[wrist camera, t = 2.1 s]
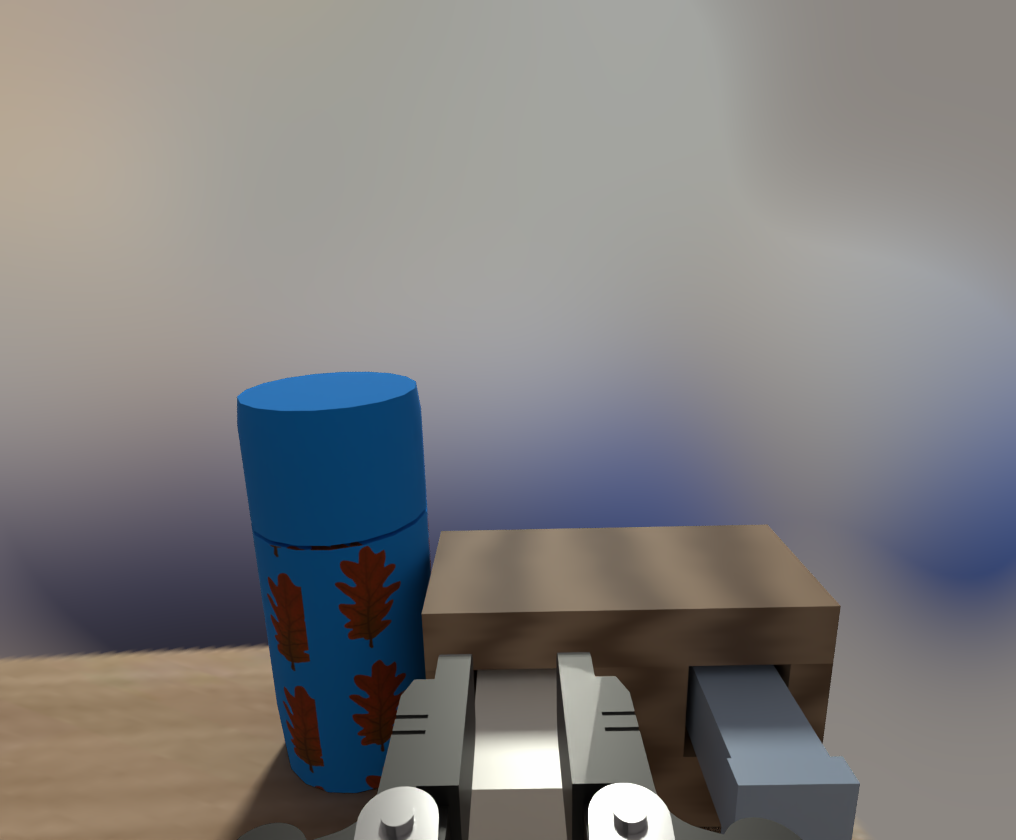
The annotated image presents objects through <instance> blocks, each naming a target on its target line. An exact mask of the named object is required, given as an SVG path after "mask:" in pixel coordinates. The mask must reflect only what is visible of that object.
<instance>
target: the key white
mask: <svg viewBox="0 0 1016 840" xmlns="http://www.w3.org/2000/svg"><path fill="white" fill-rule="evenodd" d="M475 717H476V733H475V753H474V767H473V781H472V795H471V809H470V823H469V837H468V840H567V833H566V823H565V812H564V801H563V791H562V780H561V769H560V758H559V748H558V735H557V681H556V668H552V669H495V670H477V683H476V696H475Z"/></svg>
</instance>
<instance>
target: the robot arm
mask: <svg viewBox="0 0 1016 840" xmlns="http://www.w3.org/2000/svg"><path fill="white" fill-rule="evenodd" d="M556 681H557V735H558V748H559V758H560V769H561V780H562V791H563V801H564V812H565V823H566V833H567V840H802V839H801V838H800V837H799V836H798V835H797V834H795V833H794V832H793V831H792V830H790V829H789V828H787V827H785V826H784V825H782V824H779V823H777V822H775V821H772V820H769V819H764V818H757V817H750V818H744V819H740V820H738V821H736V822H734V823H733V824H731V825H730V826H729V827H728V829H727V830H726V832H725V834H724V835H723V834H719V833H716V832H712V831H708V830H705V829H701V828H698V827H695V826H692V825H690V824H688V823H686V822H684V821H682V820H680V819H679V818H677V817H676V816H675V815H673V814H672V813H671V812H670V811H669V810H668V808H667V806H666V805H665V804H664V802H663V801H662V800H661V799H660V798H659V797H658V795H657V793H656V790H655V787H654V783H653V779H652V776H651V772H650V768H649V764H648V760H647V757H646V753H645V749H644V745H643V741H642V737H641V734H640V731H639V726H638V722H637V718H636V715H635V711H634V707H633V703H632V699H631V696H630V692H629V691H628V690H627V689H626V688H625V686H624V685H623V684H622V683H621V682H620V681H619V679H618V678H617V677H616V676H595V675H594V670H593V665H592V659H591V655H590V652H566V653H557V657H556ZM475 733H476V717H475V693H474V671H473V656H472V654H447V655H439V657H438V662H437V668H436V674H435V679H416V680H414V681H413V682H412V683H411V684H410V686H409V687H408V688H407V689H406V690H405V692H404V693H403V694H402V695H401V697H400V701H399V706H398V710H397V714H396V719H395V722H394V726H393V730H392V735H391V739H390V743H389V747H388V751H387V755H386V759H385V763H384V768H383V772H382V776H381V780H380V784H379V788H378V792H377V795H376V796H375V797H374V798H372V799H371V800H370V801H369V802H368V803H367V804H366V805H365V806H364V808H363V809H362V811H361V813H360V815H359V817H358V821H357V822H355V823H354V824H352V825H351V826H349V827H347V828H345V829H343V830H341V831H339V832H336V833H333V834H330V835H327V836H323V837H320V838H317V839H314V840H468V837H469V823H470V809H471V795H472V781H473V767H474V753H475ZM237 840H306V838H305V835H304V834H303V833H302V831H301V830H299V829H298V828H297V827H295V826H293V825H290V824H286V823H270V824H266V825H262V826H259V827H257V828H254V829H252V830H250V831H248V832H247V833H245V834H244V835H242V836H241V837H239V838H238V839H237Z"/></svg>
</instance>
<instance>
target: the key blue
mask: <svg viewBox="0 0 1016 840" xmlns="http://www.w3.org/2000/svg"><path fill="white" fill-rule="evenodd" d="M685 726H686V728H687V731H688V734H689V737H690V740H691V742H692V745H693V748H694V751H695V753H696V756H697V759H698V762H699V765H700V767H701V770H702V773H703V776H704V779H705V781H706V784H707V787H708V790H709V792H710V795H711V798H712V801H713V804H714V806H715V809H716V812H717V815H718V818H719V820H720V823H721V834H723V835H724V834H725V832H726V830H727V829H728V827H729V826H730V825H731V824H733V823H734V822H736V821H738V820H740V819H744V818H750V817H757V818H764V819H769V820H772V821H775V822H777V823H779V824H782V825H784V826H785V827H787V828H789V829H790V830H792V831H793V832H794V833H795V834H797V835H798V836H799V837H800V838H801V839H802V840H851V839H852V833H853V826H854V819H855V813H856V806H857V800H858V793H859V786H860V783H859V781H858V780H857V778H856V777H855V775H854V773H853V772H852V770H851V769H850V767H849V766H848V764H847V762H846V761H845V759H844V758H843V757H842V756H841V757H830V756H829V754H828V752H827V751H826V749H825V748H824V746H823V744H822V743H821V741H820V740H819V738H818V736H817V735H816V733H815V731H814V730H813V728H812V727H811V725H810V723H809V722H808V720H807V718H806V717H805V715H804V714H803V712H802V710H801V709H800V707H799V705H798V704H797V702H796V701H795V699H794V697H793V696H792V694H791V693H790V691H789V689H788V688H787V686H786V684H785V683H784V681H783V680H782V678H781V676H780V675H779V673H778V671H777V670H776V668H775V667H774V665H721V666H689V671H688V688H687V704H686V721H685Z"/></svg>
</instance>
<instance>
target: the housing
mask: <svg viewBox="0 0 1016 840" xmlns="http://www.w3.org/2000/svg"><path fill="white" fill-rule="evenodd" d="M839 614H840V605H839V604H838V603H837V602H836V600H835V599H834V598H833V597H832V596H831V595H830V594H829V593H828V592H827V590H825V588H824V587H823V586H822V585H821V584H820V583H819V582H818V581H817V579H816V578H815V577H814V576H813V575H812V574H811V573H810V572H809V570H808V569H807V568H806V567H805V566H804V565H803V564H802V563H801V562H800V560H799V559H798V558H797V557H796V556H795V555H794V554H793V553H792V552H791V551H790V549H789V548H788V547H787V546H786V545H785V544H784V543H783V542H782V540H781V539H780V538H779V537H778V536H777V535H776V534H775V533H774V532H773V530H772V529H771V528H770V527H769V526H768V525H727V526H677V527H629V528H582V529H580V528H579V529H527V530H483V531H482V530H478V531H441V535H440V539H439V543H438V547H437V551H436V556H435V560H434V564H433V568H432V572H431V576H430V581H429V585H428V589H427V593H426V597H425V602H424V606H423V610H422V628H423V642H424V657H425V672H426V679H435V674H436V668H437V662H438V657H439V655H447V654H472V656H473V671H474V693H475V696H476V683H477V670H495V669H552V668H556V657H557V653H566V652H590V655H591V659H592V665H593V670H594V675H595V676H616V677H617V678H618V679H619V681H620V682H621V683H622V684H623V685H624V686H625V688H626V689H627V690H628V691H629V692H630V696H631V699H632V703H633V707H634V711H635V715H636V718H637V722H638V726H639V731H640V734H641V737H642V741H643V745H644V749H645V753H646V757H647V760H648V764H649V768H650V772H651V776H652V779H653V783H654V787H655V790H656V793H657V795H658V797H659V798H660V799H661V800H662V801H663V802H664V804H665V805H666V806H667V808H668V810H669V811H670V812H671V813H672V814H673V815H675V816H676V817H677V818H679V819H680V820H682V821H684V822H686V823H688V824H690V825H692V826H695V827H721V823H720V820H719V818H718V815H717V812H716V809H715V806H714V804H713V801H712V798H711V795H710V792H709V790H708V787H707V784H706V781H705V779H704V776H703V773H702V770H701V767H700V765H699V762H698V759H697V756H696V753H695V751H694V748H693V745H692V742H691V740H690V737H689V734H688V731H687V728H686V726H685V721H686V704H687V688H688V671H689V666H721V665H774V667H775V668H776V670H777V671H778V673H779V675H780V676H781V678H782V680H783V681H784V683H785V684H786V686H787V688H788V689H789V691H790V693H791V694H792V696H793V697H794V699H795V701H796V702H797V704H798V705H799V707H800V709H801V710H802V712H803V714H804V715H805V717H806V718H807V720H808V722H809V723H810V725H811V727H812V728H813V730H814V731H815V733H816V735H817V736H818V738H819V740H820V741H821V743H822V744H823V736H824V729H825V721H826V713H827V706H828V698H829V690H830V683H831V675H832V667H833V659H834V652H835V644H836V637H837V629H838V621H839Z"/></svg>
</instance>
